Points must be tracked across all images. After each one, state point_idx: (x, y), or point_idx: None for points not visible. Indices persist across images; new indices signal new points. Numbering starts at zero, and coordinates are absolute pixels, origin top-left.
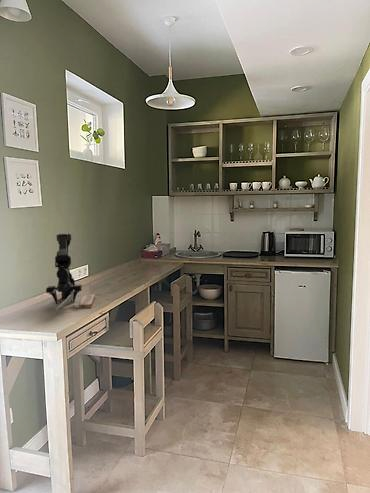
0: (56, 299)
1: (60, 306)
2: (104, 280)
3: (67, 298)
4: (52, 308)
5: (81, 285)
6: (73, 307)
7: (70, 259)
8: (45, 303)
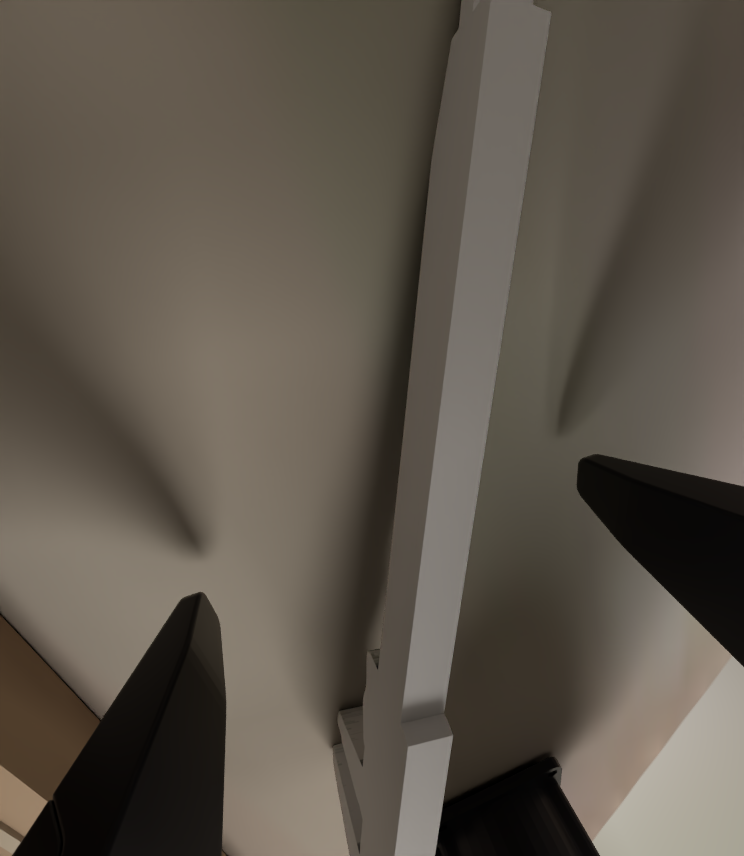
0: (696, 528)
1: (450, 203)
2: None
3: (427, 714)
4: (623, 233)
5: None
6: (37, 329)
7: None
8: None
